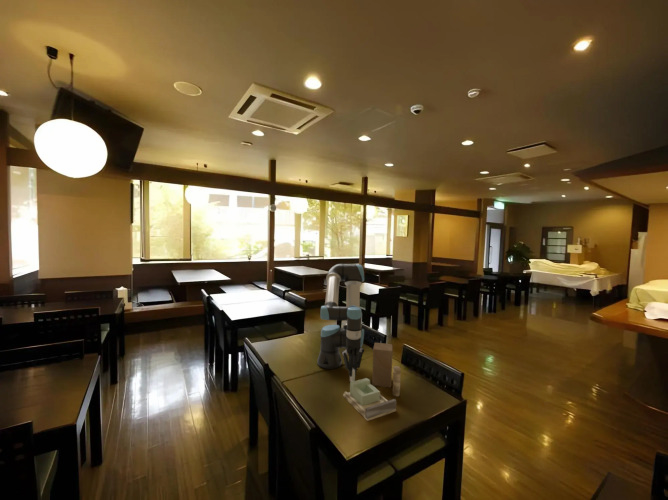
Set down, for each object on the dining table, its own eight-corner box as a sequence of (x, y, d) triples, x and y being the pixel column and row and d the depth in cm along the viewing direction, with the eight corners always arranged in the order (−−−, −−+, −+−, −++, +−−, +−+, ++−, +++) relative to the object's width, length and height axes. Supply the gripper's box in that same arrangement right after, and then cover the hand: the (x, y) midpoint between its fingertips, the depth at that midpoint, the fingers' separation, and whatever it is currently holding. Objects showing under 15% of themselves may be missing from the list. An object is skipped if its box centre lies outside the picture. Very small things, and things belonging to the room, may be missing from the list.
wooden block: (391, 388, 148) (392, 351, 147) (372, 385, 150) (373, 349, 149) (391, 378, 158) (392, 343, 157) (373, 376, 160) (374, 342, 159)
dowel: (390, 393, 143) (391, 366, 142) (396, 391, 145) (397, 365, 144) (395, 397, 140) (396, 369, 139) (401, 395, 141) (402, 368, 141)
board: (343, 395, 140) (343, 386, 139) (369, 388, 147) (369, 379, 147) (367, 421, 121) (367, 409, 121) (395, 411, 129) (396, 400, 128)
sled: (349, 393, 140) (350, 382, 139) (366, 389, 144) (366, 377, 144) (362, 406, 130) (362, 393, 130) (379, 400, 135) (379, 388, 134)
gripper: (346, 341, 140) (345, 387, 141) (368, 337, 146) (366, 382, 147) (339, 336, 146) (337, 380, 147) (360, 333, 152) (358, 375, 153)
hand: (352, 381), depth 147 cm, fingers closed
